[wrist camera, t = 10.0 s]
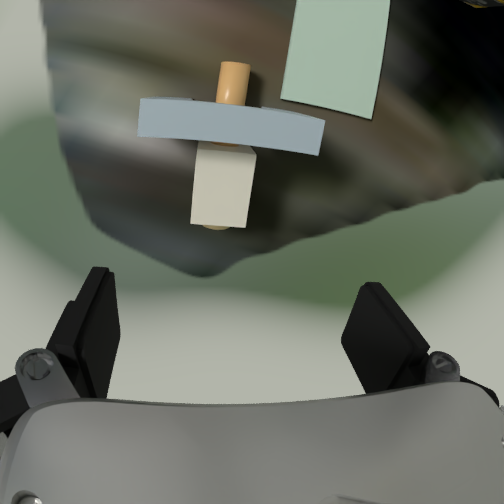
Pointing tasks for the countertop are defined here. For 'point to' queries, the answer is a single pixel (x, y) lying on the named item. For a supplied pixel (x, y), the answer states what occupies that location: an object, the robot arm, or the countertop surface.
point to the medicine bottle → (484, 3)
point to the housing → (229, 124)
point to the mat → (336, 54)
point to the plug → (224, 164)
